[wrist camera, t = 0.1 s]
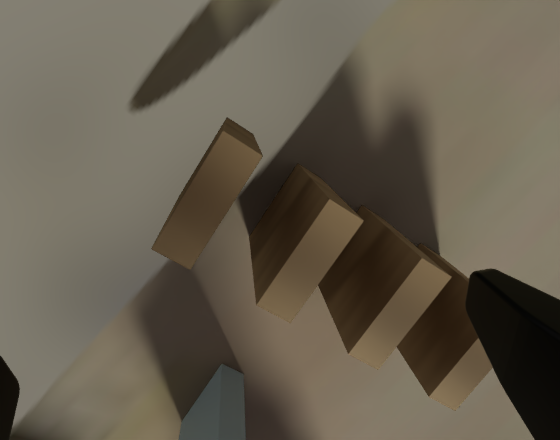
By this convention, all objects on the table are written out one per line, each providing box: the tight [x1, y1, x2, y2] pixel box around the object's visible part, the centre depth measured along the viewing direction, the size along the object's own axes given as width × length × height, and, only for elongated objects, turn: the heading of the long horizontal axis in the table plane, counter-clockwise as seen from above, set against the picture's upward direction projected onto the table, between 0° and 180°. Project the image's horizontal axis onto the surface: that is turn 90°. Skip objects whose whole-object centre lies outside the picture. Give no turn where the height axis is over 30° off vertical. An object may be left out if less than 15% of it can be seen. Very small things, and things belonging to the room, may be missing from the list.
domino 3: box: [249, 164, 364, 323], centre depth 20 cm, size 5×2×8 cm, turn 147°
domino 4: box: [318, 205, 451, 370], centre depth 21 cm, size 5×2×8 cm, turn 146°
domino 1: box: [152, 118, 263, 270], centre depth 19 cm, size 5×2×8 cm, turn 146°
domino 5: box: [397, 243, 493, 411], centre depth 22 cm, size 5×2×8 cm, turn 147°
